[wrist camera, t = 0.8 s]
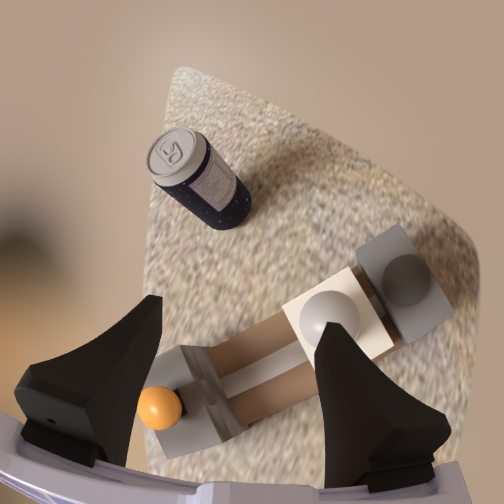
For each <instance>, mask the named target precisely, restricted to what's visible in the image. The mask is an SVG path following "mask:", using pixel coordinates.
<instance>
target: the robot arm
mask: <svg viewBox="0 0 504 504" xmlns="http://www.w3.org/2000/svg"><path fill="white" fill-rule="evenodd" d="M162 302H163V297H160V296H155V295H148V296H146V297H145V298H144V299H143V300H142V301H141V302H140V303H139V304H138V305H137V306H136V307H135V308H133V309H132V310H131V311H130V312H129V313H128V314H127V315H126V316H124V317H123V318H122V319H121V320H120V321H118V322H117V323H116V324H115V325H113V326H112V327H111V328H109V329H108V330H107V331H105V332H104V333H103V334H101V335H100V336H98V337H97V338H95V339H93V340H92V341H90V342H89V343H87V344H85V345H83V346H81V347H79V348H77V349H75V350H73V351H71V352H69V353H67V354H64V355H61V356H59V357H56V358H54V359H51V360H47V361H44V362H40V363H37V364H33V365H30V366H29V367H28V369H27V370H26V371H25V373H24V375H23V376H22V378H21V380H20V381H19V383H18V385H17V387H16V388H15V390H14V395H15V397H16V400H17V402H18V404H19V405H20V407H21V409H22V411H23V412H24V414H25V415H26V417H27V421H26V423H25V425H24V424H23V423H21V422H20V421H18V420H17V419H15V418H13V417H11V416H9V415H7V414H5V413H4V412H2V411H0V481H1V482H2V483H4V484H6V485H8V486H9V487H11V488H13V489H15V490H16V491H18V492H20V493H22V494H24V495H26V496H28V497H29V498H31V499H33V500H35V501H37V502H39V503H41V504H471V503H472V502H471V498H470V495H469V492H468V489H467V486H466V483H465V480H464V477H463V474H462V472H461V469H460V466H459V463H458V461H453V462H449V463H445V464H441V465H438V466H436V467H434V468H433V467H432V462H434V460H435V459H434V456H433V453H434V452H435V451H436V450H437V449H438V448H439V447H441V446H442V445H443V444H444V443H445V442H446V441H447V439H448V438H449V436H450V434H451V427H450V425H449V423H448V420H447V418H446V416H445V414H443V413H441V412H439V411H437V410H435V409H433V408H431V407H429V406H427V405H425V404H424V403H422V402H420V401H419V400H417V399H416V398H414V397H413V396H411V395H410V394H408V393H407V392H406V391H404V390H403V389H401V388H400V387H399V386H398V385H396V384H395V383H394V382H393V381H392V380H391V379H389V378H388V377H387V376H386V375H385V374H384V373H383V372H382V371H381V370H380V369H379V368H378V367H377V366H376V365H375V364H374V363H373V362H372V361H371V360H370V359H369V357H368V356H367V355H366V354H365V353H364V352H363V350H362V349H361V348H360V347H359V346H358V344H357V343H356V342H355V341H354V339H353V338H352V337H351V336H350V334H349V333H348V332H347V331H346V330H345V328H344V327H343V326H342V325H341V324H340V323H336V322H327V323H326V326H325V328H324V331H323V333H322V336H321V338H320V341H319V343H318V345H317V348H316V350H315V353H314V366H315V376H316V382H317V387H318V392H319V397H320V402H321V407H322V412H323V419H324V431H325V483H324V489H316V488H313V487H311V486H309V485H297V484H294V485H293V484H257V483H242V482H231V481H212V482H206V483H196V482H189V481H183V480H178V479H172V478H167V477H162V476H157V475H153V474H148V473H144V472H140V471H136V470H131V469H128V468H125V465H126V459H127V452H128V447H129V442H130V436H131V432H132V427H133V422H134V418H135V413H136V409H137V406H138V401H139V398H140V395H141V392H142V389H143V386H144V384H145V381H146V379H147V376H148V374H149V371H150V369H151V366H152V364H153V361H154V358H155V356H156V353H157V350H158V347H159V343H160V339H161V335H162Z"/></svg>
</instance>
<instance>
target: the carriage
mask: <svg viewBox="0 0 504 504" xmlns="http://www.w3.org/2000/svg"><path fill="white" fill-rule="evenodd" d="M282 308H283V310H284V312H285V314H286V316H287V318H288V320H289V322H290V324H291V326H292V328H293V330H294V332H295V333H296V335H297V337H298V339H299V341H300V343H301V345H302V347H303V349H304V351H305V353H306V355H307V357H308V359H309V361H310V363H311V364H312V366H313V368H314V370H315V366H314V353H315V350H316V348H317V345H318V343H319V341H320V338H321V336H322V333H323V331H324V328H325V326H326V323H327V322H336V323H340V324H341V325H342V326H343V327H344V328H345V330H346V331H347V332H348V333H349V334H350V336H351V337H352V338H353V339H354V341H355V342H356V343H357V344H358V346H359V347H360V348H361V349H362V350H363V352H364V353H365V354H366V355H367V356H368V357H369V359H370V360H371V359H373V358H375V357H376V356H378V355H380V354H381V353H383V352H385V351H386V350H388V349H390V348H391V347H393V346H394V344H393V342H392V340H391V339H390V337H389V335H388V333H387V331H386V330H385V328H384V326H383V324H382V322H381V321H380V319H379V317H378V315H377V314H376V312H375V310H374V308H373V307H372V305H371V303H370V302H369V300H368V298H367V296H366V295H365V293H364V291H363V290H362V288H361V286H360V285H359V283H358V281H357V280H356V278H355V276H354V275H353V273H352V271H351V270H350V268H349V266H348V267H347V268H345V269H343V270H342V271H340V272H338V273H337V274H335V275H333V276H332V277H330V278H329V279H327V280H325V281H324V282H322V283H320V284H319V285H317V286H315V287H314V288H312V289H310V290H308V291H307V292H305V293H303V294H302V295H300V296H298V297H297V298H295V299H293V300H291V301H290V302H288V303H286V304H284V305H283V306H282Z"/></svg>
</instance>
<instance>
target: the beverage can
mask: <svg viewBox="0 0 504 504" xmlns="http://www.w3.org/2000/svg"><path fill="white" fill-rule="evenodd" d="M146 166H147V170H148V171H149V173H150V174H151V177H152V179H153V181H154V183H155V184H156V185H158V186H159V187H160V188H161V189H163V190H164V191H165V192H167V193H168V194H169V195H170V196H172V197H173V198H174V199H175V200H177V201H178V202H179V203H181V204H182V205H183V206H184V207H186V208H187V209H188V210H190V211H191V212H192V213H193V214H195V215H196V216H197V217H198V218H200V219H201V220H202V221H204V222H205V223H206V224H207V225H209V226H210V227H211V228H213V229H216V230H228V229H231V228H234V227H235V226H237V225H239V224H240V223H241V222H242V221H243V220H244V219H245V217H246V216H247V214H248V212H249V210H250V207H251V196H250V193H249V191H248V190H247V188H246V187H245V186H244V185H243V183H242V182H241V181H240V180H239V178H238V177H237V176H236V175H235V173H234V172H233V171H232V170H231V168H230V167H229V166H228V165H227V163H226V162H225V161H224V160H223V159H222V157H221V156H220V155H219V154H218V152H217V151H216V150H215V149H214V148H213V146H212V145H211V144H210V143H209V141H208V140H207V139H206V138H205V137H204V136H203V135H202V134H201V133H199V132H196V131H193V130H192V129H191V128H188V127H185V126H179V127H175V128H172V129H170V130H168V131H166V132H164V133H163V134H162V135H160V136H159V137H158V138H157V139H156V140H155V142H154V143H153V144H152V146H151V147H150V149H149V151H148V154H147V158H146Z"/></svg>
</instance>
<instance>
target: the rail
mask: <svg viewBox="0 0 504 504" xmlns="http://www.w3.org/2000/svg"><path fill="white" fill-rule="evenodd" d="M355 251H356V258H357V265H358V266H356V267H355V268H353V269H352V270H351V271H352V273H353V275H354V276H355V278H356V280H357V281H358V283H359V285H360V286H361V288H362V290H363V291H364V293H365V295H366V296H367V298H368V300H369V302H370V303H371V305H372V307H373V308H374V310H375V312H376V314H377V315H378V317H379V319H380V321H381V322H382V324H383V326H384V328H385V330H386V331H387V333H388V335H389V337H390V339H391V340H392V342H393V344H394V346H393V347H391V348H390V349H388V350H386V351H385V352H383V353H381V354H380V355H378V356H376V357H375V358H373V359H371V361H372V362H373V363H374V362H376V361H378V360H380V359H381V358H383V357H385V356H386V355H388V354H389V353H391V352H393V351H394V350H396V349H397V348H399V347H401V346H402V345H405V344H411V343H413V342H414V341H416V340H417V339H419V338H420V337H422V336H423V335H425V334H426V333H428V332H429V331H431V330H432V329H433V328H435V327H436V326H438V325H439V324H441V323H442V322H443V321H445V320H446V319H447V318H449V317H450V316H452V315H453V314H454V313H456V312H455V311H454V309H453V307H452V305H451V304H450V302H449V300H448V298H447V297H446V295H445V293H444V292H443V290H442V288H441V287H440V285H439V283H438V282H437V280H436V278H435V277H434V275H433V274H432V272H431V270H430V269H429V267H428V266H427V264H426V263H425V261H424V259H423V258H422V256H421V255H420V253H419V252H418V250H417V249H416V247H415V246H414V244H413V243H412V241H411V240H410V238H409V237H408V236H407V234H406V233H405V231H404V230H403V228H402V227H401V226H400V224H399V223H397V224H396V225H394V226H393V227H391V228H390V229H388V230H387V231H385V232H383V233H382V234H380V235H379V236H377V237H376V238H374V239H373V240H371V241H369V242H368V243H366V244H365V245H363V246H361V247H360V248H358V249H357V250H355ZM156 386H164V387H167V388H170V389H171V390H172V391H174V392H175V394H176V395H177V396H178V397H179V398H180V399H181V400H182V402H183V410H182V414H181V418H180V420H179V422H178V423H177V424H176V425H175V426H173V427H170V428H166V429H163V430H154V431H155V433H156V436H157V438H158V440H159V442H160V445H161V447H162V449H163V451H164V453H165V456H166V458H167V460H168V459H172V458H176V457H179V456H183V455H186V454H190V453H193V452H197V451H200V450H203V449H206V448H209V447H212V446H215V445H218V444H221V443H224V442H225V441H227V440H229V439H231V438H233V437H235V436H236V435H238V434H240V433H242V432H244V431H245V430H247V429H249V426H248V424H250V423H252V422H255V421H257V420H260V419H262V418H264V417H267V416H269V415H272V414H274V413H276V412H279V411H281V410H283V409H285V408H287V407H290V406H292V405H294V404H296V403H298V402H301V401H303V400H305V399H307V398H309V397H311V396H313V395H315V394H317V393H319V392H318V387H317V382H316V376H315V370H314V368H313V366H312V364H311V363H310V361H309V359H308V357H307V355H306V353H305V351H304V349H303V347H302V345H301V343H300V341H299V339H298V337H297V335H296V333H295V332H294V330H293V328H292V326H291V324H290V322H289V320H288V318H287V316H286V314H285V312H284V310H282V311H281V312H279V313H277V314H275V315H274V316H272V317H270V318H268V319H266V320H265V321H263V322H261V323H259V324H257V325H256V326H254V327H252V328H250V329H248V330H246V331H245V332H243V333H241V334H239V335H237V336H235V337H233V338H232V339H230V340H228V341H226V342H224V343H222V344H220V345H218V346H216V347H214V348H212V347H202V346H188V345H178V346H176V347H174V348H173V349H171V350H169V351H167V352H165V353H163V354H161V355H159V356H157V357H155V358H154V361H153V364H152V366H151V369H150V371H149V374H148V376H147V379H146V381H145V384H144V386H143V389H142V391H143V390H144V389H146V388H148V387H156Z"/></svg>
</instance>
